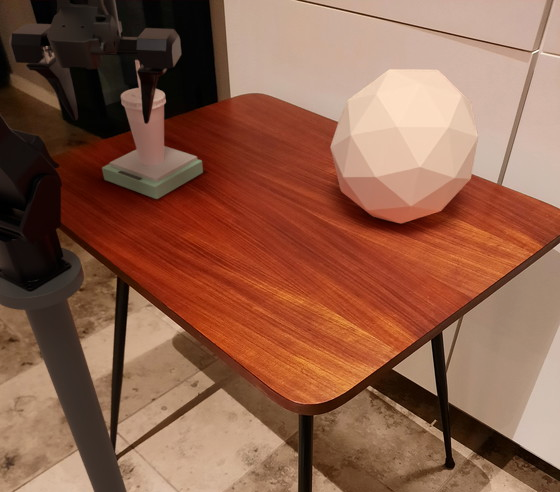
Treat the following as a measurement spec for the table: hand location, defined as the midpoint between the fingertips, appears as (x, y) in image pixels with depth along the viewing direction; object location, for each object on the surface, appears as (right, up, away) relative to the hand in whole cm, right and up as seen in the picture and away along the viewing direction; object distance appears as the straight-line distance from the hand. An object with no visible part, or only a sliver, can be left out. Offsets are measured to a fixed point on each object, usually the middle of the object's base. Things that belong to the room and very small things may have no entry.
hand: (111, 121), depth 71 cm
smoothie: (+2, +1, +16) cm, 16 cm away
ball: (+38, -8, +11) cm, 41 cm away
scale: (+2, -1, +18) cm, 18 cm away
